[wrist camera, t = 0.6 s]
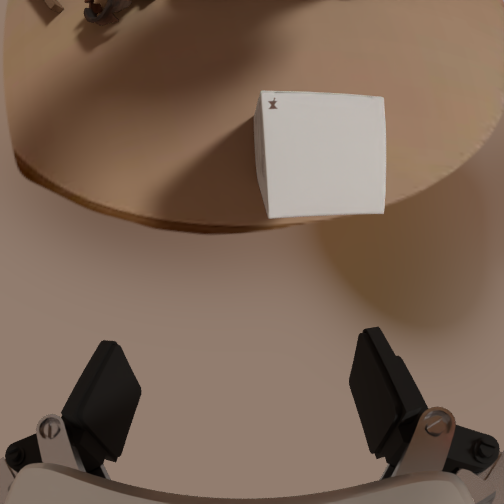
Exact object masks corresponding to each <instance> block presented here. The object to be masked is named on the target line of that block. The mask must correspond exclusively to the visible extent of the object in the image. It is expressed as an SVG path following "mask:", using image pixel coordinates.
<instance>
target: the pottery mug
mask: <svg viewBox="0 0 504 504" xmlns="http://www.w3.org/2000/svg"><path fill="white" fill-rule="evenodd" d="M131 2H132V1H130V0H108V1H107V4H106V6H105V8H104V10H103V11H102V7H101V4H94V0H85V3H89V8H85V9H84V16H85V18H86V20H87V21H89V22H92V23H94V22H96V23H97V24H99V25H106V24H108V23H111V22H117V21H119V19H117V18H116V17H115V15H114V14H113V12H118V11H120V10H122V9H124V8H127V7H128V6H129V5H130V4H131ZM100 12H102V13H101V14H100V15H99V16H97V14H98V13H100Z"/></svg>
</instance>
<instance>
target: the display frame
mask: <svg viewBox="0 0 504 504" xmlns="http://www.w3.org/2000/svg"><path fill="white" fill-rule="evenodd" d="M44 1H45V3H46V4H47V5H48V6H49V8H50V9H52V10H54V11H56V12H58V13H61V12H62V11H63V10H64V8H63V7H62V6H61V5H60V4H59V3H58V2H57V0H44Z"/></svg>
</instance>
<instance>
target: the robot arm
mask: <svg viewBox="0 0 504 504" xmlns="http://www.w3.org/2000/svg"><path fill="white" fill-rule="evenodd" d="M349 385H350V389H351V392H352V395H353V398H354V401H355V404H356V407H357V411H358V414H359V417H360V420H361V423H362V426H363V430H364V433H365V436H366V440H367V443H368V446H369V450H370V452H371V453H372V454H373V453H375V456H376V458H377V459H378V458H381V457H385V458H386V462H387V463H388V465H387V467H386V469H385V471H384V473H383V475H382V476H381V478H380V480H379V481H374V482H370V483H367V484H362V485H358V486H354V487H349V488H345V489H339V490H333V491H328V492H322V493H315V494H308V495H300V496H291V497H278V498H258V499H230V498H210V497H198V496H188V495H180V494H173V493H166V492H160V491H155V490H150V489H145V488H140V487H136V486H131V485H127V484H123V483H119V482H116V481H112V480H111V479H110V477H109V475H108V473H107V471H106V469H105V467H104V464H103V462H104V459H106V460H110V461H113V462H116V461H117V458H118V457H120V456H121V453H122V451H123V448H124V444H125V441H126V438H127V434H128V432H129V429H130V426H131V423H132V419H133V417H134V414H135V411H136V408H137V405H138V402H139V399H140V396H141V387H140V385H139V383H138V381H137V379H136V377H135V375H134V373H133V371H132V369H131V367H130V365H129V363H128V361H127V359H126V357H125V355H124V352H123V350H122V348H121V346H120V345H118V344H117V343H116V342H115V341H105V340H103V341H101V343H100V344H99V346H98V347H97V349H96V351H95V352H94V354H93V356H92V357H91V359H90V361H89V363H88V364H87V366H86V368H85V369H84V371H83V373H82V375H81V377H80V378H79V380H78V382H77V384H76V385H75V387H74V389H73V391H72V393H71V395H70V396H69V398H68V400H67V402H66V404H65V406H64V408H63V410H62V412H61V413H62V417H61V418H60V417H59V416H57V415H55V414H50V415H46V416H44V417H43V418H42V419H41V420H40V421H39V422H38V424H37V428H36V434H34V435H31V436H29V437H27V438H24V439H22V440H19V441H17V442H15V443H13V444H11V445H10V446H9V447H8V448H7V450H6V454H5V457H6V459H4V458H1V459H0V504H474V502H475V504H504V451H503V452H502V453H501V452H500V451H499V444H498V442H497V440H496V439H495V438H494V437H492V436H490V435H487V434H483V433H480V432H477V431H474V430H470V429H467V428H464V427H461V426H458V425H456V421H455V417H454V416H453V414H452V413H451V412H450V411H449V410H447V409H445V408H443V407H432V408H430V409H428V407H427V405H426V403H425V401H424V399H423V397H422V395H421V393H420V391H419V389H418V387H417V386H416V384H415V382H414V380H413V378H412V376H411V374H410V373H409V371H408V369H407V367H406V365H405V363H404V362H403V360H402V359H401V357H399V356H395V354H394V352H393V351H392V349H391V347H390V345H389V343H388V341H387V340H386V338H385V336H384V334H383V333H382V331H381V330H380V328H379V327H373V328H367V329H364V330H363V333H360V334H359V336H358V341H357V346H356V351H355V356H354V361H353V365H352V370H351V374H350V378H349ZM472 498H473V499H474V501H473V499H472Z"/></svg>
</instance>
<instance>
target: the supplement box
mask: <svg viewBox="0 0 504 504" xmlns="http://www.w3.org/2000/svg"><path fill="white" fill-rule="evenodd" d="M254 143H255V160H256V171H257V180H258V184H259V187H260V191H261V195H262V198H263V202H264V206H265V209H266V213H267V216H268V218H269V219H274V218H288V217H306V216H326V215H352V214H384V207H385V191H386V125H385V109H384V98H383V97H377V96H366V95H355V94H339V93H321V92H295V91H261V92H260V95H259V99H258V103H257V107H256V110H255V114H254Z"/></svg>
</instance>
